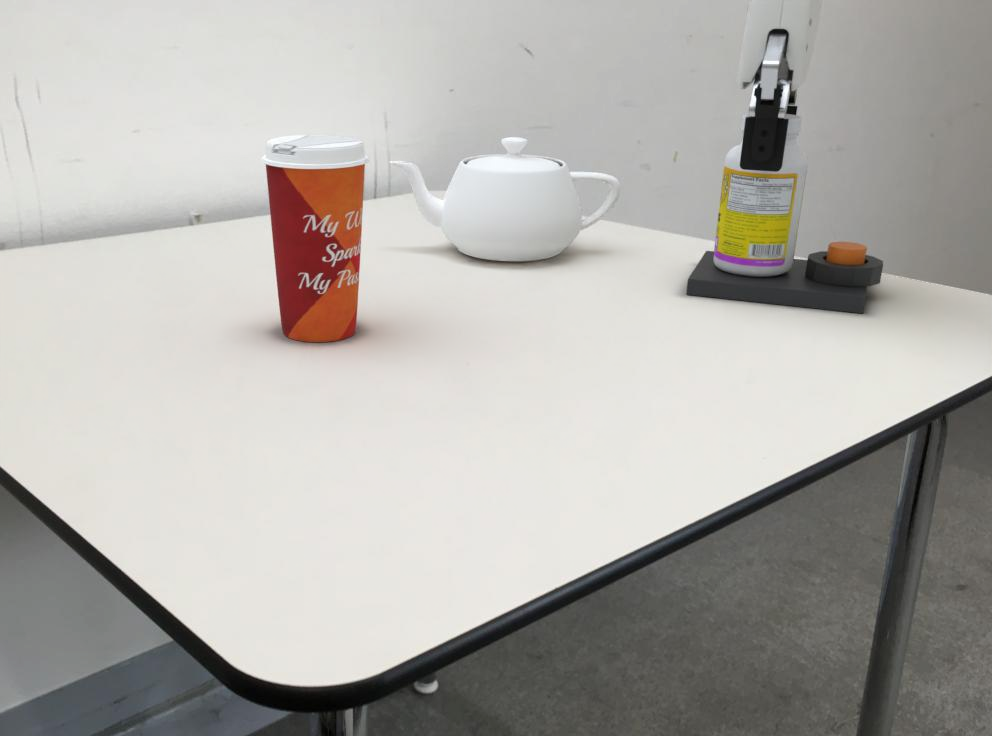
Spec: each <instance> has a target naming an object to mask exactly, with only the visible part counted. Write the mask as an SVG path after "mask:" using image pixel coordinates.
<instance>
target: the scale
mask: <svg viewBox="0 0 992 736" xmlns="http://www.w3.org/2000/svg"><path fill="white" fill-rule="evenodd" d="M827 251H828V250H822V251H816V252H812V253H808V256H807V259H799V258H794V260H793V265H792V267H791V269H790V270H789V271H788V272H786V273H784V274H781V275H777V276H770V277H752V276H743V275H737V274H732V273H728V272H725V271H722V270H720V269H719V268H717V267H716V266H715V264H714V260H713V258H714V250H705V252H704V254H703V255H702V256H701V259H699V261H698V263H697V264H696V266H695V267H694V269H693V271H691V274H690V275H689V276H688V278H687V284H686V292H685V295H687V296H696V297H706V298H715V299H723V300H724V299H725V300H733V301H734V300H735V301H744V302H753V303H760V304H761V303H762V304H771V305H781V306H790V307H799V308H808V309H818V310H827V311H835V312H847V313H855V314H864V313H865V307H866V301H867V296H868V295H867V293H868V291H867V290H868V287H872V286H876V285H880V283H881V278H882V274H883V268H884V261H883V260H882V259H880V258H877V257H876V256H872V255H869V254H866V256H865V261H864V264H859V265H847V264H838V263H833V262H829V261H826V257H827Z"/></svg>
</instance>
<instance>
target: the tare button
mask: <svg viewBox="0 0 992 736" xmlns="http://www.w3.org/2000/svg"><path fill="white" fill-rule="evenodd" d="M867 249H868V247H867V246H866V245H865V244H862V243H858V242H853V241H832V242H830V243H828V246H827V250H826V251H827V257H826V261H829V262H833V263H838V264H847V265H859V264H864V261H865V256H866V255H867Z"/></svg>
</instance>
